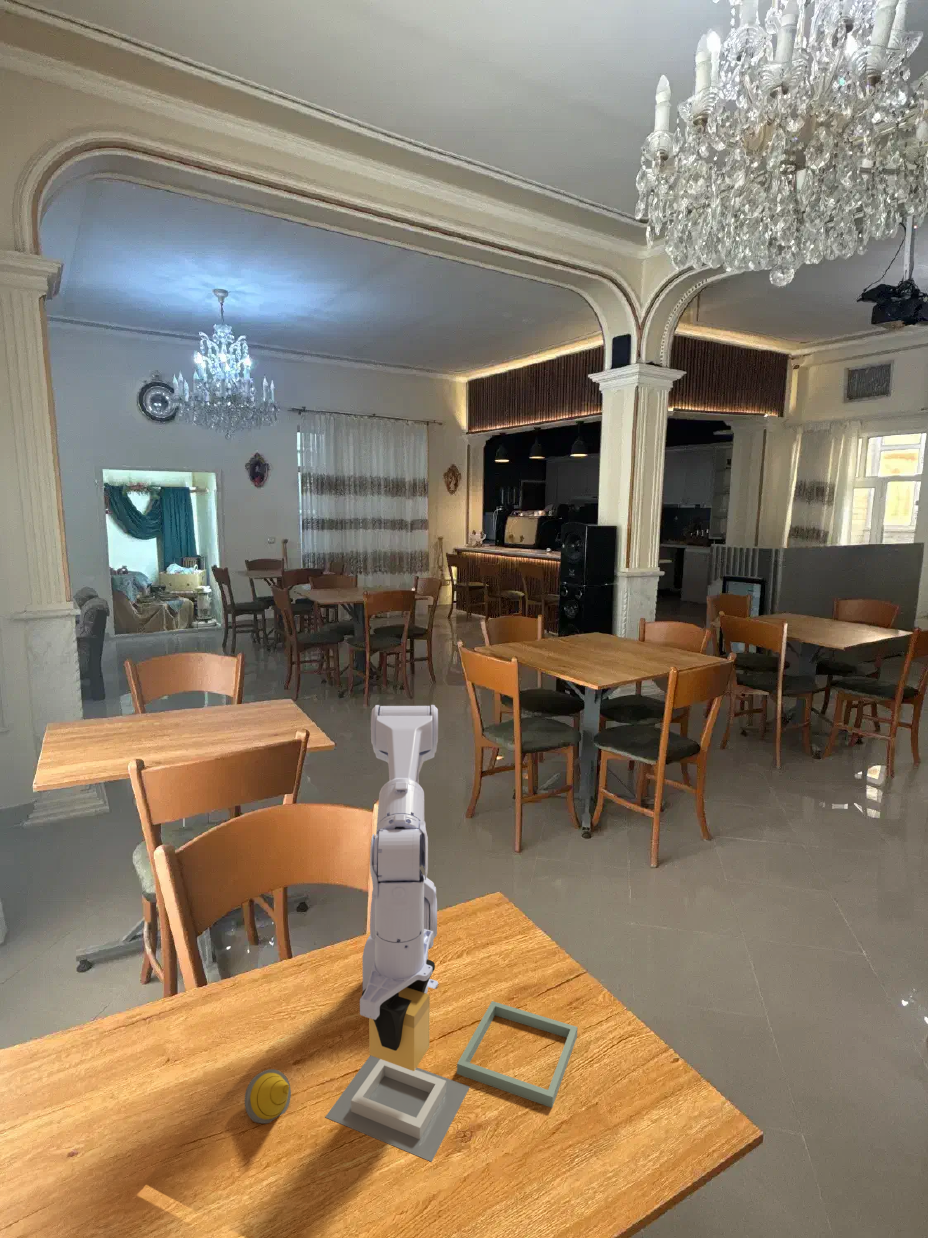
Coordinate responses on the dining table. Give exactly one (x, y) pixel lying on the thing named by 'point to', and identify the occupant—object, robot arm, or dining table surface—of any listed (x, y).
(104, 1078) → the dining table surface
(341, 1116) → the board
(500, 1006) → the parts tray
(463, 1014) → the dining table surface
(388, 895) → the robot arm
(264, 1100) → the yellow cone
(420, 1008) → the yellow rectangular block
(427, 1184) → the dining table surface
